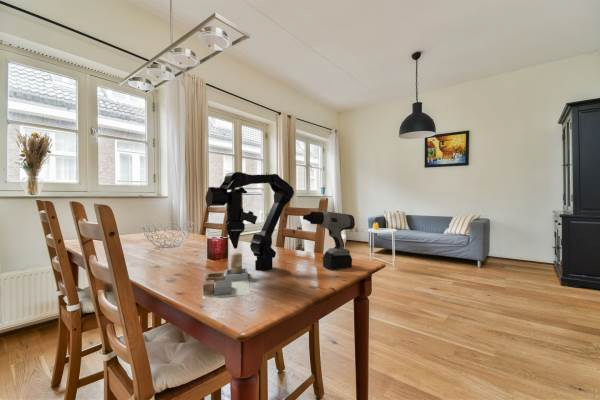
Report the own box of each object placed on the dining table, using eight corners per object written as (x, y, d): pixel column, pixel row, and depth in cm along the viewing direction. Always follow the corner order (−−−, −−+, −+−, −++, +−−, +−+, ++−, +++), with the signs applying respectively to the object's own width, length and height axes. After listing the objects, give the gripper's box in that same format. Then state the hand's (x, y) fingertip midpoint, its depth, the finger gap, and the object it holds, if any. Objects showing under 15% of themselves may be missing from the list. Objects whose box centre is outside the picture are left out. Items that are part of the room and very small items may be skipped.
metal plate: (231, 286, 88) (231, 279, 88) (231, 294, 81) (231, 286, 81) (215, 288, 87) (215, 280, 87) (214, 295, 80) (214, 287, 80)
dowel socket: (224, 276, 100) (224, 272, 100) (223, 281, 94) (223, 276, 94) (207, 277, 98) (207, 273, 98) (205, 282, 93) (205, 278, 93)
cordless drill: (300, 269, 114) (299, 211, 113) (347, 263, 123) (347, 209, 123) (307, 273, 107) (307, 212, 106) (357, 267, 116) (357, 210, 116)
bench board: (246, 275, 105) (246, 272, 105) (250, 298, 81) (250, 294, 81) (209, 277, 102) (209, 274, 102) (202, 302, 78) (202, 298, 78)
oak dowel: (242, 274, 101) (242, 253, 101) (240, 277, 97) (240, 255, 97) (232, 274, 100) (231, 253, 100) (229, 277, 96) (229, 255, 96)
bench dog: (214, 289, 85) (214, 280, 85) (213, 294, 81) (213, 283, 81) (204, 290, 84) (204, 280, 84) (203, 295, 81) (203, 284, 81)
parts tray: (246, 273, 103) (246, 268, 103) (247, 279, 96) (247, 273, 96) (225, 275, 101) (225, 269, 101) (224, 281, 94) (224, 275, 94)
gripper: (258, 205, 94) (259, 249, 94) (253, 204, 112) (253, 241, 112) (226, 206, 91) (226, 251, 91) (226, 204, 109) (226, 242, 109)
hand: (235, 246), depth 101 cm, fingers open, 9 cm apart
